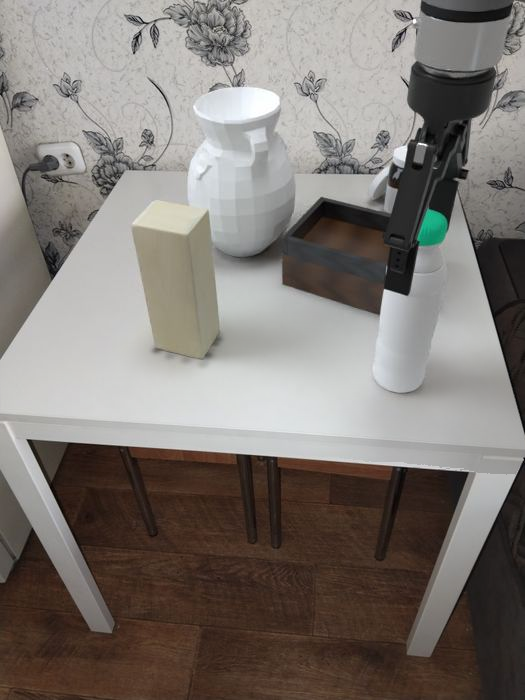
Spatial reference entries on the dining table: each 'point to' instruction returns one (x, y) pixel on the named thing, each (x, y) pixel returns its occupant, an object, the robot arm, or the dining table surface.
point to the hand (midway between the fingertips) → (417, 258)
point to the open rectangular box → (338, 254)
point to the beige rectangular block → (178, 276)
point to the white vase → (242, 170)
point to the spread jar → (389, 180)
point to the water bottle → (412, 314)
